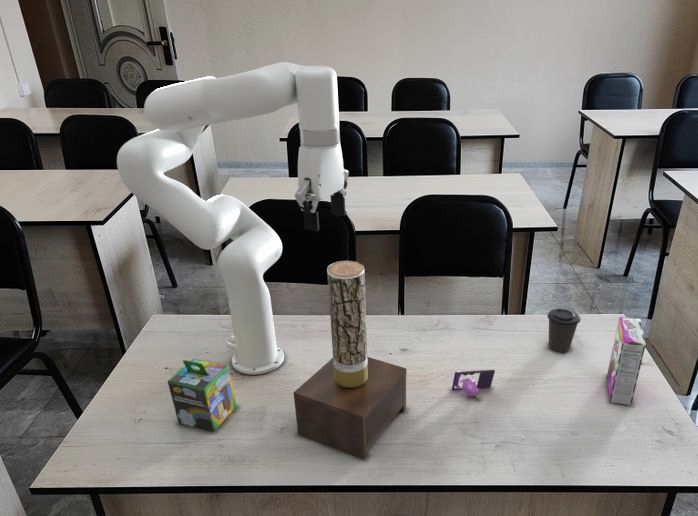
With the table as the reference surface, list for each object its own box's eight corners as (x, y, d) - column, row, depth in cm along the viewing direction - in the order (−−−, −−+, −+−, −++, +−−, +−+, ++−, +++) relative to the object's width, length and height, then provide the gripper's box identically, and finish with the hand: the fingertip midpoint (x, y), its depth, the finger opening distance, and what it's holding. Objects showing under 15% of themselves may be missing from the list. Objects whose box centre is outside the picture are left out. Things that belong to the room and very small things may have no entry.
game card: (493, 366, 135) (454, 369, 134) (498, 386, 132) (458, 388, 131) (489, 383, 140) (451, 386, 140) (493, 402, 137) (454, 405, 136)
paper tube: (363, 391, 120) (358, 278, 107) (330, 387, 121) (322, 274, 108) (371, 372, 126) (368, 262, 113) (340, 368, 127) (333, 259, 114)
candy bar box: (605, 375, 144) (618, 315, 136) (627, 378, 143) (641, 318, 135) (608, 403, 135) (622, 341, 126) (631, 406, 134) (647, 344, 125)
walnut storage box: (298, 434, 125) (293, 392, 120) (344, 389, 139) (342, 349, 133) (364, 460, 119) (362, 416, 113) (406, 409, 133) (406, 368, 127)
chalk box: (237, 407, 133) (227, 351, 125) (213, 433, 126) (201, 375, 118) (202, 399, 136) (190, 343, 128) (176, 424, 128) (162, 366, 121)
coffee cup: (550, 335, 160) (555, 302, 154) (580, 345, 156) (586, 311, 150) (537, 349, 154) (542, 314, 149) (567, 359, 150) (573, 324, 145)
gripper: (328, 125, 123) (333, 206, 132) (276, 144, 110) (285, 232, 119) (360, 129, 120) (362, 212, 129) (310, 149, 107) (316, 239, 116)
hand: (325, 222), depth 124 cm, fingers open, 9 cm apart
